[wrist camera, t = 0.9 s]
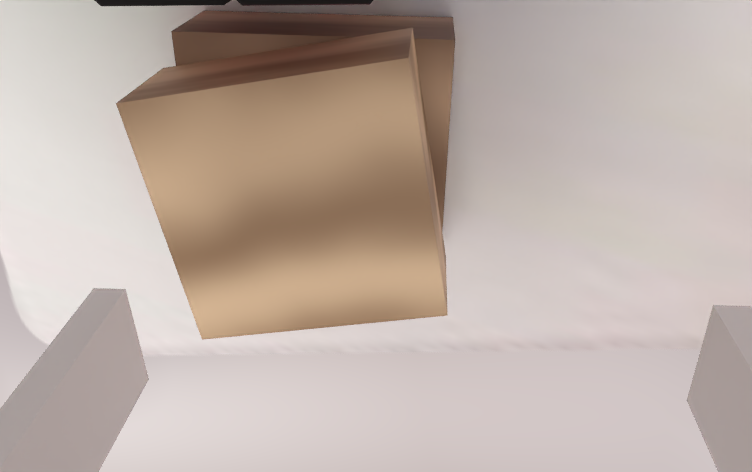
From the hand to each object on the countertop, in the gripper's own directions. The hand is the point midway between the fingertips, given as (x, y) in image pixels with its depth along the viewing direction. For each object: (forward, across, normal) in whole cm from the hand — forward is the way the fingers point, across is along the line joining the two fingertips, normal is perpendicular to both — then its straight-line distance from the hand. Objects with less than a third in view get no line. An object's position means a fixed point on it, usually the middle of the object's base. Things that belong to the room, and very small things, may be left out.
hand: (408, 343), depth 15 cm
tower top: (+16, -5, -3) cm, 17 cm away
